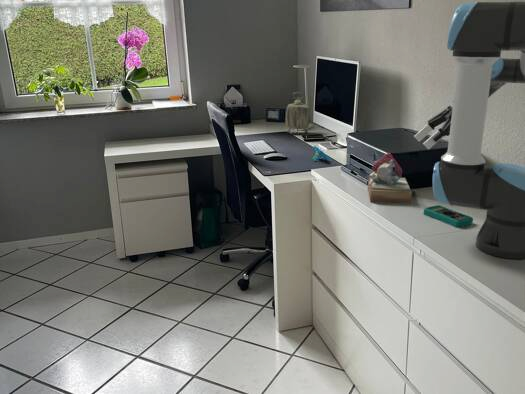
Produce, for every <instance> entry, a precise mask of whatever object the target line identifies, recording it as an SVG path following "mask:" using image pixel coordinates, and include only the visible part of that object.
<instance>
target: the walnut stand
mask: <svg viewBox="0 0 525 394" xmlns="http://www.w3.org/2000/svg"><path fill="white" fill-rule="evenodd" d="M367 181H368V182H367V191H368V196H369V201H370V203H374V204H377V203H381V204H382V203H383V204H398V205H399V204H402V205H411V203H412V196H413V195H412V194H413V192H412V190H411V188H410V185H409V183H408V181H407V179H406V177H400V179H399V180H398V181H397V182H396V184H395V185H387V184H379V183H375V182H374V183H372V184H369V182H370V181H372V179H371V178H370V177H369V176H368V180H367Z"/></svg>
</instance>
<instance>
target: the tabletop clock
mask: <svg viewBox="0 0 525 394" xmlns="http://www.w3.org/2000/svg"><path fill="white" fill-rule="evenodd" d="M295 94H302V95H303V96H302V97H300V96H297V97H294V95H295ZM291 97H292V98H293V99H295V100H294V102H293V103H289V104H287V107H286V110H285V124H286V127H287V128H288V130H287V133H289V134H290V132H291V130H296V133H295V134H296V135H299V134H300V132H299V130H304V133H305V134H308V132H309V131H308V130H307V129H308V128H309V125H310V121H311V119H310V118H311V110H310V105H309V104H307V103H303V102H302V99H303V98H304V97H305V94H304V93H303V92H301V91H296V92H293V93H292V96H291Z"/></svg>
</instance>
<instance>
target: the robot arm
mask: <svg viewBox="0 0 525 394" xmlns="http://www.w3.org/2000/svg"><path fill="white" fill-rule="evenodd" d="M446 46H447V50H449V51H452V59H453V60H454V61H455V62H456V64H457V66H456V67H457V68H456V77H455V84H454V85H455V86H454V93H453V94H454V95H453V100H452V106H451V105H448V106H447V107H446V108H445V109H443V110H441V112H439V113H438V114H436V115H434V116H433V117H432V118H430V119H429V120H427V124H426V125H425V126H424V127H422V129H420V130H419V131H418V132H417V133H415V135H413V137H414V138H415V139H416V141H418V142H421V141H422V140H423V139H424V138H425V137H427V135H429V133H431V132H432V131H434V130H435V128H436V127H438V126H439V125H441V124H442V126H441V127H440V128H437V130H436V131H435V132H434V133H433V134H432V135H431V136H430V137H429V138H427V139H426V141H424V142H423V143H422V144H423V146H424V147H425V148H426V149H427V150H430V149H431V148H432V147H433V146H434V145H436V144H437V143H439V141H440V140H441V139H443V138H444V137H446V136H447V137H448V136H449V137H448V144H447V145H448V146H447V151H446V152H445V153H444V154H443V155H441V156H440V161H437V162H436V163H434V166H433V172H432V193H433V197H434V199H435V200H436V201H437V202H438V203H440V204H445V205H449V206H456V207H461V208H462V207H464V208H469V209H476V210H477V209H478V210H483V211H486V217H485V220H484V222H483V224H482V225H481V227H480V229H479V231H478V232H477V235H476V237H475V246H476V247H477V249H479V250H480V251H481V252H484V253H485V254H488V255H491V256H494V257H498V258H503V259H509V260H525V166H521V165H518V164H514V163H508V162H505V163H504V162H497V163H494V164H493V166H492V167H486V159H485V158H484V157H483V156H482V154H481V153H482V148H483V147H482V146H483V139H484V131H485V124H486V116H487V109H488V102H489V98H490V97H492V95H494V94H495V93H496V92H497V91H499V90H500V89H501V88H502V87H503V86H505V85H506V84H508V83H509V84H525V1H519V0H518V1H496V2H495V1H489V2H488V1H483V2H482V1H476V2H468V3H467V2H466V3H462V4H459V6H458V7H457V8H456V10H455V12H454V14H453V16H452V19H451V23H450V26H449V30H448V35H447V42H446ZM503 51H506V52H507V51H508V52H509V51H520V52H519V53H520V55H519V56H520V58H502V57H501V54H502V52H503ZM443 123H444V124H443Z"/></svg>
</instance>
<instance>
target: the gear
mask: <svg viewBox="0 0 525 394" xmlns="http://www.w3.org/2000/svg"><path fill="white" fill-rule="evenodd" d="M313 149H314V151H315V155H314V156H313V157H312V160H313V162H316V161H317V160H318V159H319V158H321V157H322V158H323V159H324V160H325V161H327V162H329V161H330V158H329V157H328V156H327V155H326V153H325V152H324V151H323V150H322V149H319V147H318V146H316V145H314V146H313Z"/></svg>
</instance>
